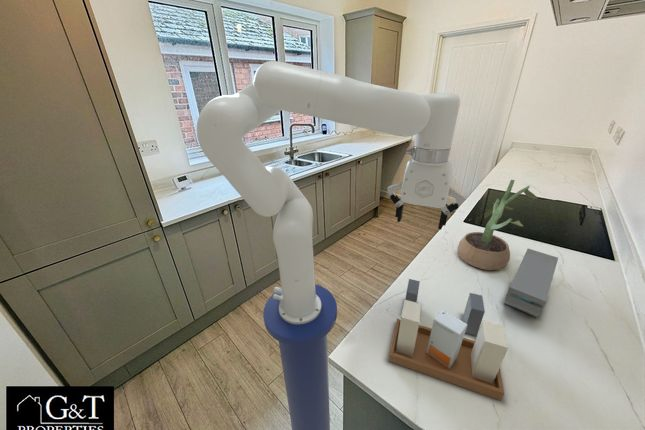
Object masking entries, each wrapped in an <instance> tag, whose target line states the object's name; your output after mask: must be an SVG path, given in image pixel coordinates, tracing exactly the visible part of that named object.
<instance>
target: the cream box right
mask: <svg viewBox="0 0 645 430" xmlns="http://www.w3.org/2000/svg"><path fill="white" fill-rule="evenodd" d="M474 341H475V343H474V346H473V349H472V352H471V365H472V377H473V378H476V379H479V380H482V381H485V382H488V383H491V384H493V382H494V380H495V377H496V375H497V373H498V370H499V368H500V369H501V365H502V363H503V361H504V359H505V357H506V354H507V351H508V350H509V346H508V341H507V338H506V332H505V327H504V325H503V324H500V323H496V322H492V321H489V320H484V319H482V321H481V324H480V327H479V330H478V333H477V336H475V340H474Z"/></svg>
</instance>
